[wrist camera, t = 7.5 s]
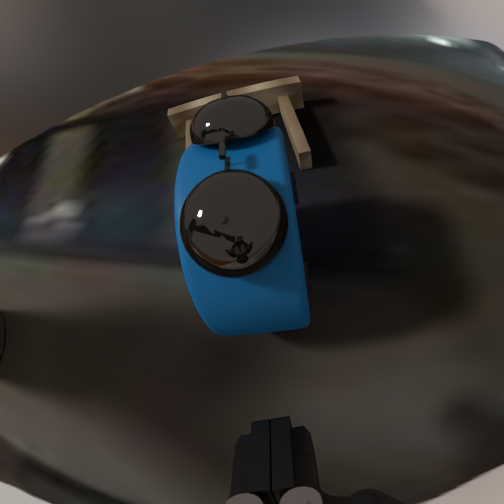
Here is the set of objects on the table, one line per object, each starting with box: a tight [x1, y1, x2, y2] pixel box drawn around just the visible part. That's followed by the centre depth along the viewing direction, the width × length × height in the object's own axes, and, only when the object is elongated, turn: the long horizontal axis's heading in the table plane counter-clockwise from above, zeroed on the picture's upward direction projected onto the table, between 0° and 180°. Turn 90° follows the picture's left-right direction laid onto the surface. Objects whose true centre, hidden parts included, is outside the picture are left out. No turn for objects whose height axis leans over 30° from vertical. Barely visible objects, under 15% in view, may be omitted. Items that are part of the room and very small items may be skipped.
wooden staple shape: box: [168, 76, 312, 170], centre depth 33 cm, size 16×12×4 cm
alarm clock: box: [174, 92, 311, 336], centre depth 21 cm, size 13×6×15 cm, turn 3°
